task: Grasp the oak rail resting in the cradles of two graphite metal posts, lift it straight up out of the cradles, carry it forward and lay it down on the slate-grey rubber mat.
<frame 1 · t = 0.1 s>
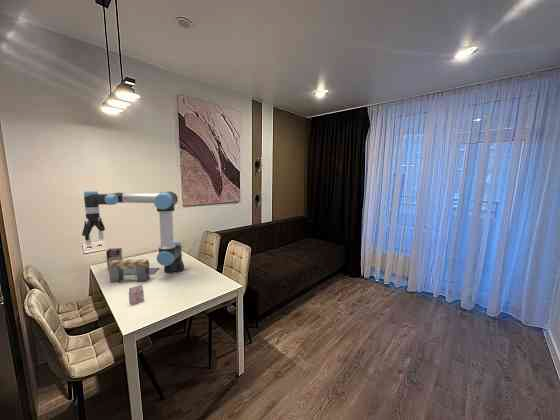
hand: (95, 242, 162), 28 cm above the table, fingers open, 13 cm apart
coffee box: (115, 268, 185), on the table
post a: (143, 280, 166), on the table
rail: (129, 267, 163), point 10 cm above the table, touching post a, post b
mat: (136, 271, 180), on the table
post b: (117, 280, 164), on the table
pink rectangular block: (136, 301, 138), on the table
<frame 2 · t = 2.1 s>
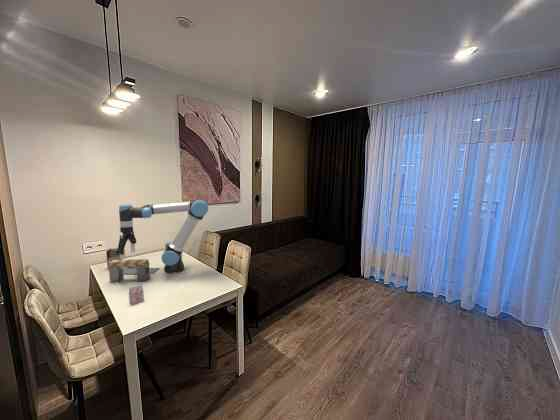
hand: (128, 255, 162), 19 cm above the table, fingers open, 13 cm apart
nothing on the table moved.
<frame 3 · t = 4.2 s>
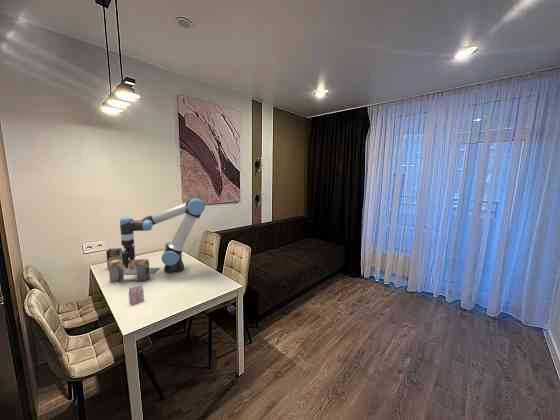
hand: (129, 270, 164), 8 cm above the table, fingers closed on rail, 5 cm apart
rail: (129, 267, 163), point 10 cm above the table, touching gripper, post b
everything else where it was.
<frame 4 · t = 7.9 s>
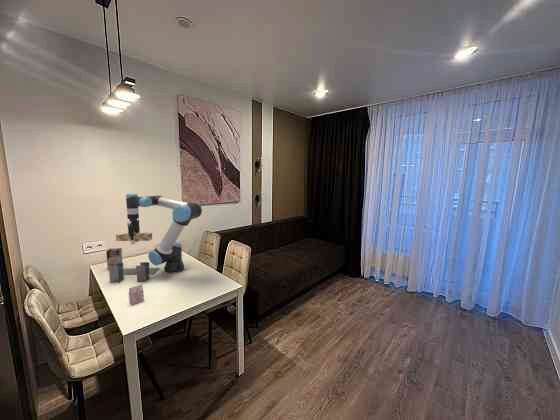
hand: (134, 242, 177), 24 cm above the table, fingers closed on rail, 5 cm apart
rail: (134, 240, 176), point 26 cm above the table, touching gripper
everything else where it was.
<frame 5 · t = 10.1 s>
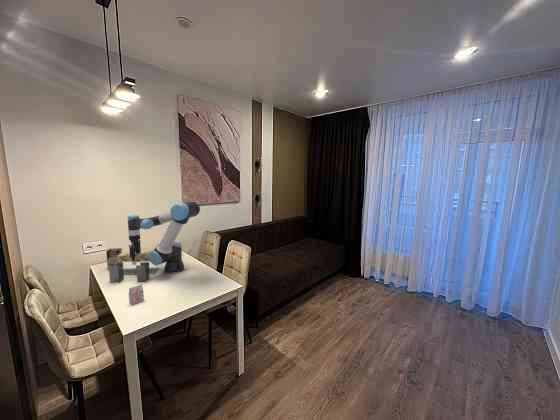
hand: (136, 263, 179), 7 cm above the table, fingers closed on rail, 5 cm apart
rail: (135, 260, 179), point 9 cm above the table, touching gripper
everything else where it was.
when the fingers open (1 cm above the table, at t = 11.9 s): rail drops 3 cm, resting on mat.
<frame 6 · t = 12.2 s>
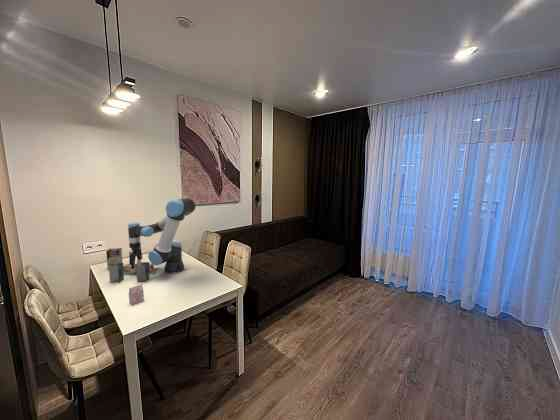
hand: (136, 269, 180), 2 cm above the table, fingers open, 8 cm apart
rail: (136, 270, 180), point 1 cm above the table, touching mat
everything else where it was.
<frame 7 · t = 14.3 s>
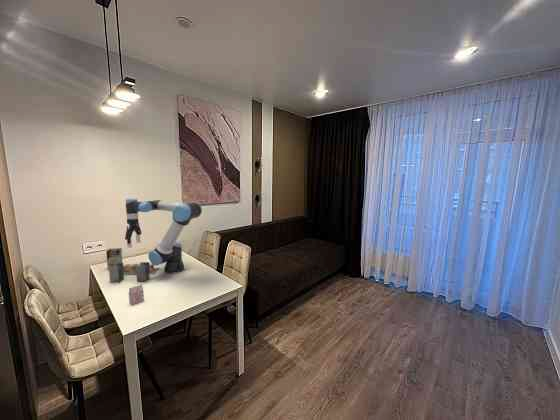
hand: (134, 245, 177), 22 cm above the table, fingers open, 13 cm apart
nothing on the table moved.
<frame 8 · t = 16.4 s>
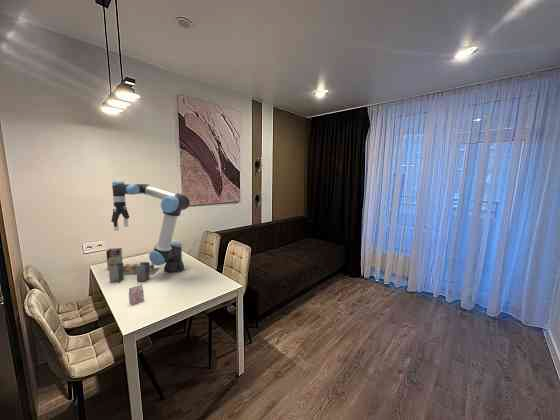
hand: (121, 228, 176), 35 cm above the table, fingers open, 13 cm apart
nothing on the table moved.
at the end: rail inside the target area on the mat (0.0 cm from its centre), point 0.6 cm above the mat's base; rail touching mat; the gripper is holding nothing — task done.
